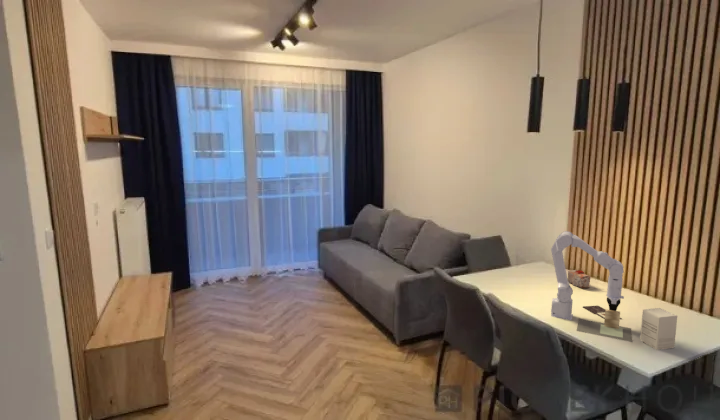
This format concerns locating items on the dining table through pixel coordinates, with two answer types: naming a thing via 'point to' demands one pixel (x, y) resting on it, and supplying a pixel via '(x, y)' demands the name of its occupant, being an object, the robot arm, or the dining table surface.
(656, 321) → the supplement box
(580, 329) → the mat
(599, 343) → the dining table surface
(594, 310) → the chocolate bar
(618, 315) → the tile
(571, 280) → the food item
